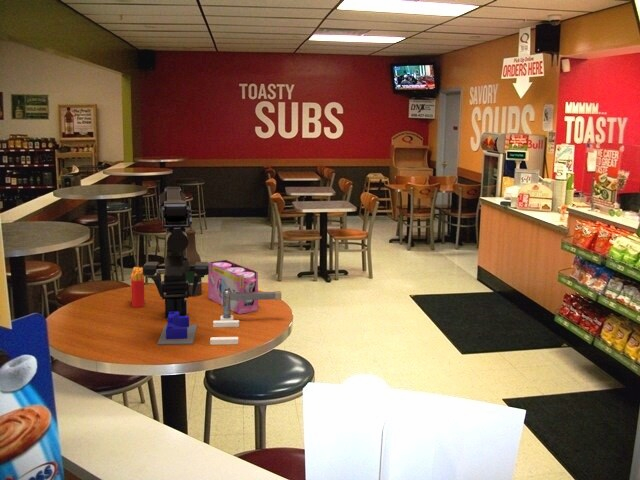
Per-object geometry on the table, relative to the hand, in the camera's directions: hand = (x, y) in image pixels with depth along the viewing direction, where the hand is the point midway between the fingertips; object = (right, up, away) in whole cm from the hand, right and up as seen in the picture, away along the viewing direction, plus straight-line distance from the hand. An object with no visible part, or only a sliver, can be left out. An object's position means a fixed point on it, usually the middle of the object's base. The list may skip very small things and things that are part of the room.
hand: (177, 296), depth 180 cm
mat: (0, -12, +2) cm, 12 cm away
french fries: (-21, -6, +31) cm, 37 cm away
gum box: (+11, -6, +34) cm, 36 cm away
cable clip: (-4, -9, +3) cm, 10 cm away
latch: (+20, -8, +18) cm, 28 cm away
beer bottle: (-5, -3, +45) cm, 46 cm away
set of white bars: (+13, -11, +7) cm, 19 cm away
